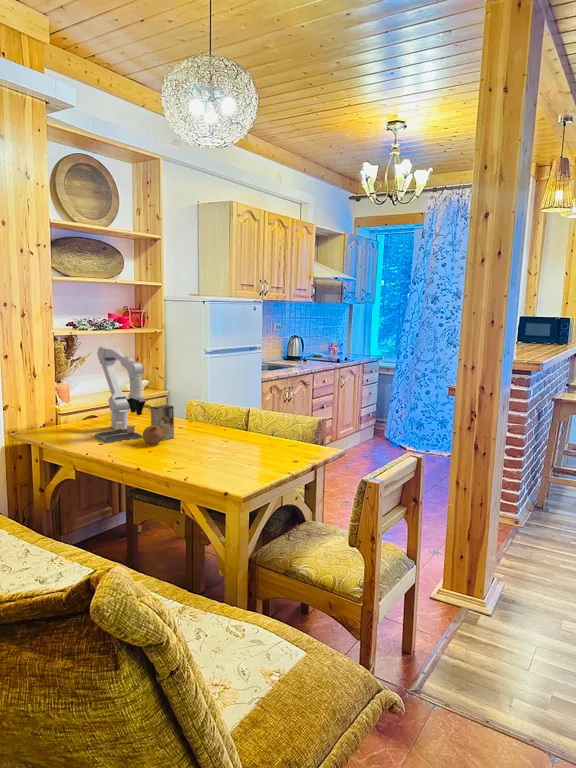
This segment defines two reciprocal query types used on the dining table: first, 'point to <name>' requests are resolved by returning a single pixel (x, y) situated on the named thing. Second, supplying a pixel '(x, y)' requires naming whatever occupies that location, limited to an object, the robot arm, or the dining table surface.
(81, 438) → the dining table surface
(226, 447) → the dining table surface
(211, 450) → the dining table surface
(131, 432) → the fader
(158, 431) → the onion
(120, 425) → the block
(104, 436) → the console
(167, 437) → the coffee box
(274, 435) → the dining table surface
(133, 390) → the robot arm
